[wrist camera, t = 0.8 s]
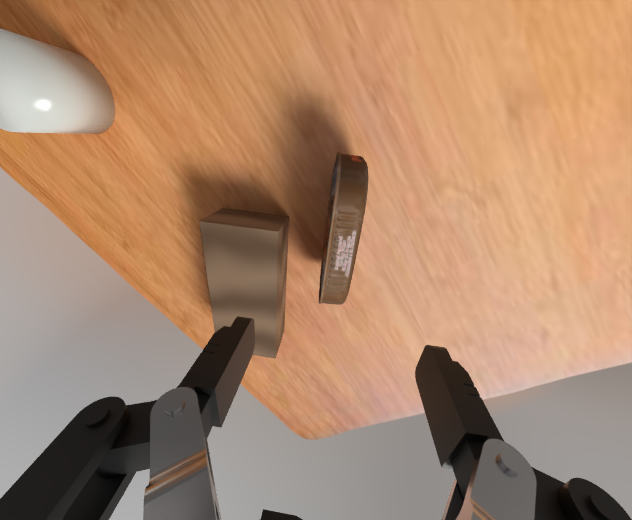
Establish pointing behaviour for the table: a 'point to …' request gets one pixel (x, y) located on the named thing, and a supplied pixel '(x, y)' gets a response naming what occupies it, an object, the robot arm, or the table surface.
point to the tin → (343, 227)
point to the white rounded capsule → (50, 89)
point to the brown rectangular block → (247, 272)
